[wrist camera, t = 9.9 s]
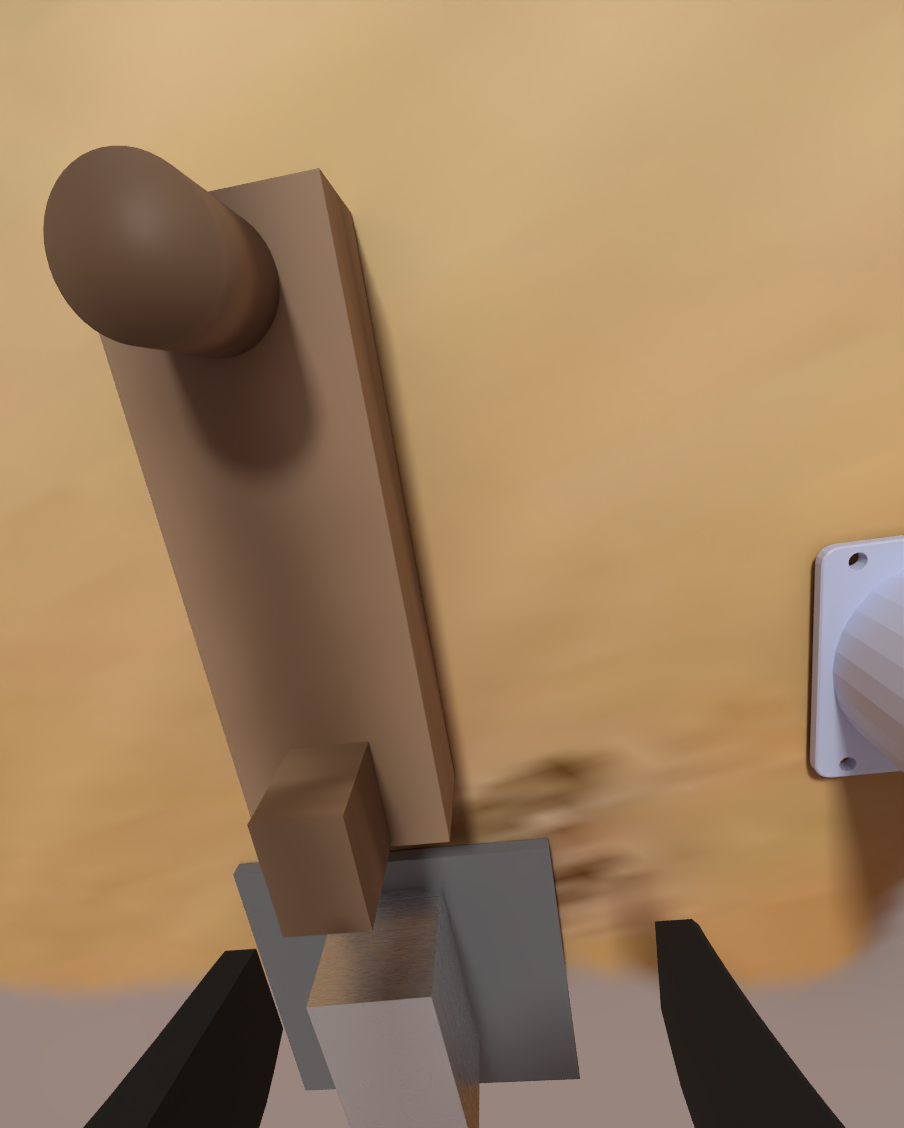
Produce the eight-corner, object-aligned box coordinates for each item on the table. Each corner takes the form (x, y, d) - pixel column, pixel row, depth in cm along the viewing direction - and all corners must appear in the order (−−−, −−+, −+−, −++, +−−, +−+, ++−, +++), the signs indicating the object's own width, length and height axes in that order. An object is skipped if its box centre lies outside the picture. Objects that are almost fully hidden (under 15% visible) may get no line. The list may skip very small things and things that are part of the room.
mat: (547, 837, 20) (549, 848, 20) (578, 1064, 24) (579, 1078, 23) (238, 864, 21) (233, 875, 21) (309, 1076, 25) (305, 1090, 24)
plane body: (350, 212, 15) (266, 95, 9) (455, 777, 20) (442, 932, 14) (143, 255, 15) (-61, 169, 10) (294, 792, 20) (220, 947, 15)
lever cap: (441, 885, 21) (431, 997, 17) (479, 1037, 23) (478, 1166, 19) (338, 896, 21) (306, 1007, 17) (386, 1044, 23) (366, 1172, 19)
